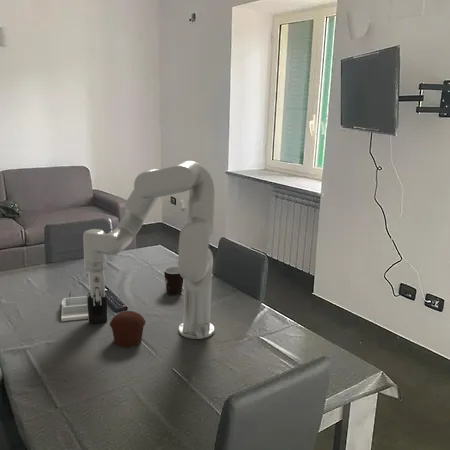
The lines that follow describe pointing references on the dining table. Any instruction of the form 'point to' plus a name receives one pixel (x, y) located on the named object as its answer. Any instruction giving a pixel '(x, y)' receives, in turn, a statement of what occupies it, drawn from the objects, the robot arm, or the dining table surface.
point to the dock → (74, 308)
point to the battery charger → (92, 318)
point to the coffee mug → (173, 281)
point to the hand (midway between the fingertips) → (97, 310)
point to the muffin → (127, 328)
